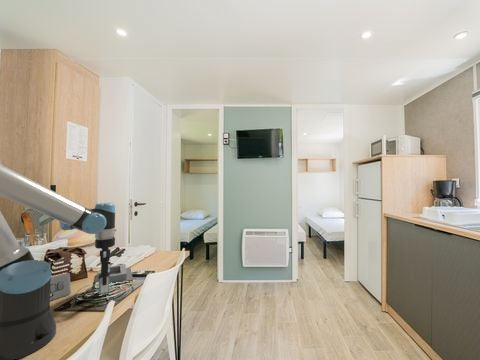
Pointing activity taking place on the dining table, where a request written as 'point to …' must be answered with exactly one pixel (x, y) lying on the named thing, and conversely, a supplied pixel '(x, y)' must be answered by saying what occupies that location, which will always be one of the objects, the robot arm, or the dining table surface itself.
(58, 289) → the electrical switch
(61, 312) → the dining table surface
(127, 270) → the socket
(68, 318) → the dining table surface
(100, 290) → the plug
